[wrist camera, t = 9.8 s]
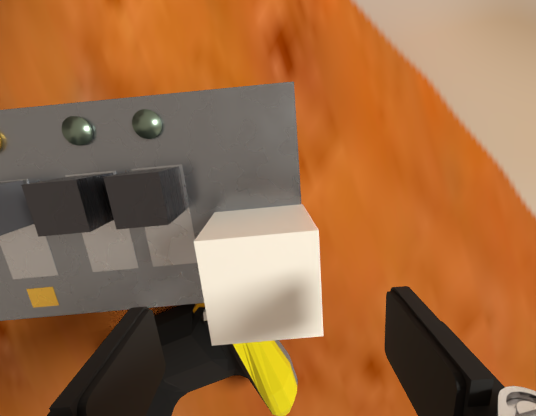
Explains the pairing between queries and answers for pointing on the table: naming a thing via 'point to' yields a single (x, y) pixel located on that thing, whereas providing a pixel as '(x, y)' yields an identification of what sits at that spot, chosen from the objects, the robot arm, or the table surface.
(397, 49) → the table surface
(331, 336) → the table surface
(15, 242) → the panel
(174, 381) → the gaming controller
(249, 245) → the chalk-white cube
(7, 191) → the toggle
